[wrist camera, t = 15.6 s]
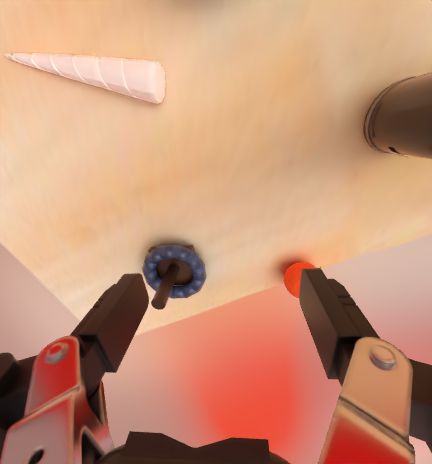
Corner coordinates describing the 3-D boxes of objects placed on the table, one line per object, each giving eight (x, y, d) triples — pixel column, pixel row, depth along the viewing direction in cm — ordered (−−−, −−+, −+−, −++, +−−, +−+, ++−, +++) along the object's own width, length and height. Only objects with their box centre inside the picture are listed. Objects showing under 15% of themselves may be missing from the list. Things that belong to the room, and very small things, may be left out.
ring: (200, 239, 40) (198, 246, 38) (210, 290, 45) (209, 299, 43) (138, 244, 42) (132, 251, 39) (154, 293, 47) (150, 301, 45)
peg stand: (192, 245, 42) (179, 282, 32) (198, 280, 46) (188, 323, 36) (150, 247, 43) (125, 284, 33) (160, 281, 47) (139, 323, 37)
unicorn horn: (1, 22, 29) (-39, 4, 24) (169, 68, 30) (158, 58, 25) (9, 64, 31) (-27, 54, 27) (165, 106, 32) (154, 102, 27)
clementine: (297, 245, 41) (309, 267, 34) (326, 260, 42) (343, 284, 35) (274, 274, 44) (280, 298, 38) (301, 287, 45) (312, 313, 39)
